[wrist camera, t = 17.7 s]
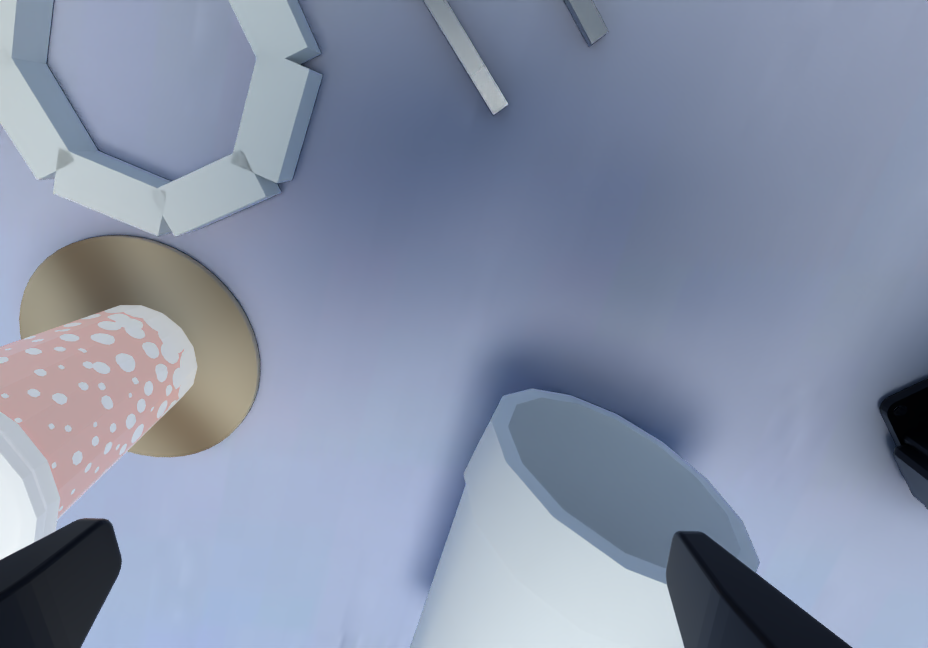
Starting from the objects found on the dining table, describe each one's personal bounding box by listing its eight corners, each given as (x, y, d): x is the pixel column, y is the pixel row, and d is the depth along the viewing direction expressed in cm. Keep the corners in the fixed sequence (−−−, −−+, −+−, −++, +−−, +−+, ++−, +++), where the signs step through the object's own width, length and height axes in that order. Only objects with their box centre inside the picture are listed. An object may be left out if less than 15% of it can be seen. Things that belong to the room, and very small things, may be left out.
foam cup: (411, 572, 26) (518, 363, 22) (574, 666, 25) (719, 466, 21) (315, 764, 18) (462, 478, 13) (558, 923, 16) (804, 667, 12)
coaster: (140, 183, 19) (133, 185, 19) (307, 384, 22) (304, 388, 22) (-21, 319, 22) (-30, 322, 21) (148, 486, 24) (142, 491, 24)
